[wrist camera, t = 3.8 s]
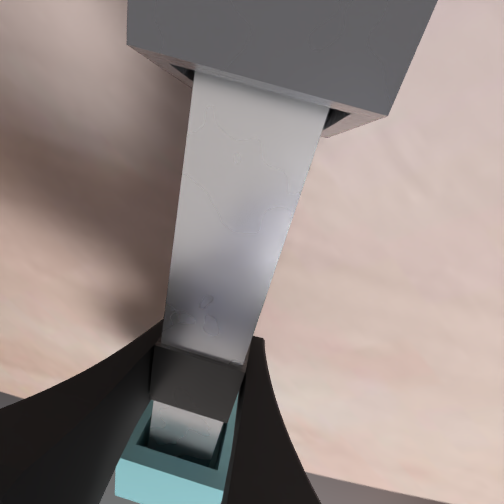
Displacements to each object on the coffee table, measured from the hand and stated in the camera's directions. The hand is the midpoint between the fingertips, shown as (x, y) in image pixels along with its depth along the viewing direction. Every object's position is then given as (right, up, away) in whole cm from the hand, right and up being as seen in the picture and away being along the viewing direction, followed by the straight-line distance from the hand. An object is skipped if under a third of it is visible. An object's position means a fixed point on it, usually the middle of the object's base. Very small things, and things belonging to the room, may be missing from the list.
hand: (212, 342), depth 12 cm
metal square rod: (+1, +4, -1) cm, 4 cm away
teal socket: (-1, -4, +5) cm, 7 cm away
